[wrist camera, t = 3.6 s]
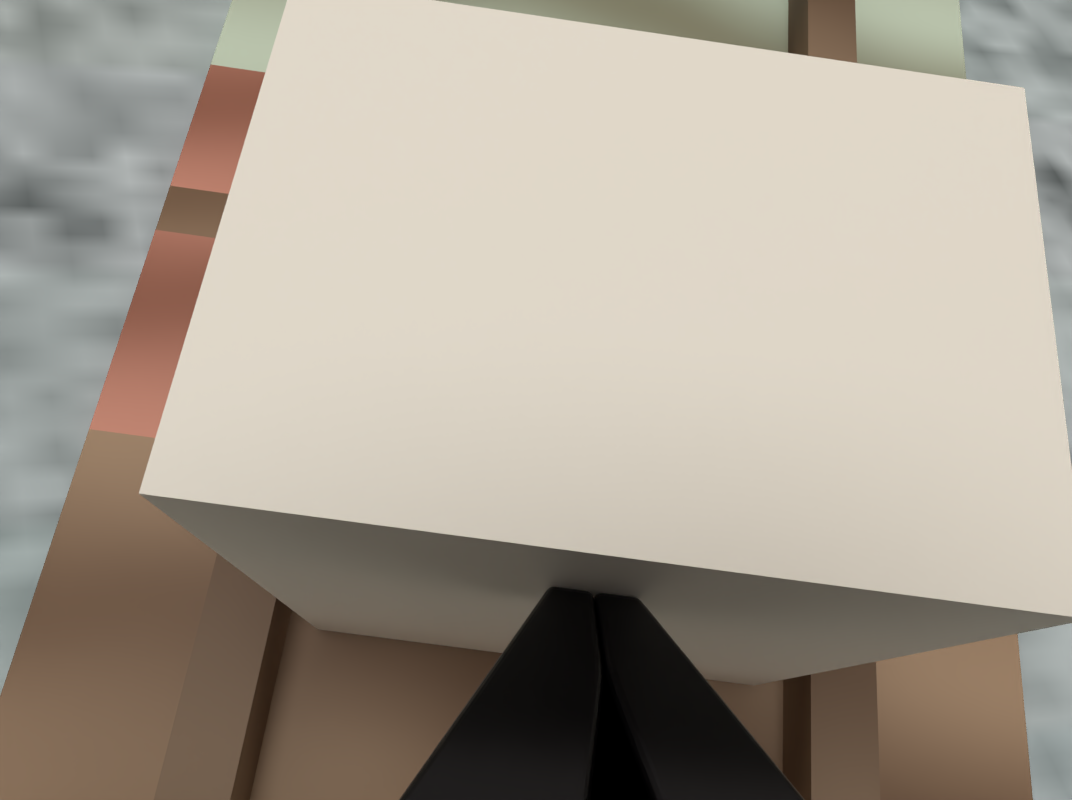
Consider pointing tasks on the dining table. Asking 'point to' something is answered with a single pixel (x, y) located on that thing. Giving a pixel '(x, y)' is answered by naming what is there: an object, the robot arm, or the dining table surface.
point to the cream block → (625, 344)
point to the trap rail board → (381, 663)
